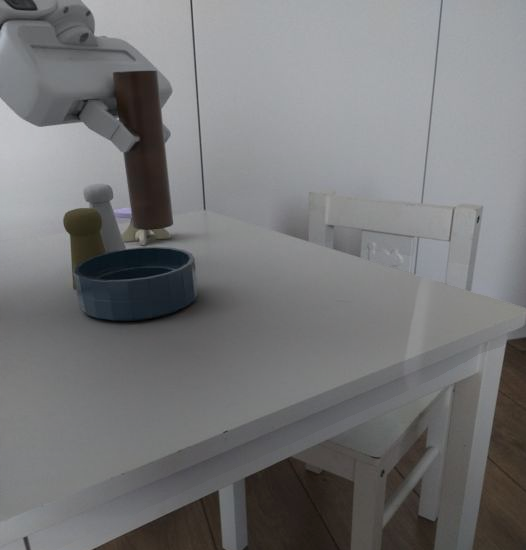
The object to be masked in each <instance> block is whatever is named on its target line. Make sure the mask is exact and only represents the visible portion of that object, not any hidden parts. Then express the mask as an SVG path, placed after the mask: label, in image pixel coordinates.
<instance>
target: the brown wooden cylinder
mask: <svg viewBox="0 0 526 550" xmlns="http://www.w3.org/2000/svg"><path fill="white" fill-rule="evenodd" d="M113 80H114V87H115V95H116V102H117V110H118V117H119V118H118V120H119V121H120V122H121V123H123V124H124V125H126V124H129V125H130V126H131V127H132V128H133V129H134V131H135V132H136V133H138V135H139V136H140V139H141V140H140V143H139V144H138V145H137V146H136V148H135V150H133V151H129V152H124V153H123V152H122V153H123V161H124V169H125V175H126V176H125V177H126V182H127V190H128V191H127V192H128V197H129V204H130V206H129V207H131V213H132V221H133V227H134V228H136V229H141V230H150V231H151V230H154V229H162V228H164V229H166V228H169V227H172V226H173V225H174V217H173V207H172V198H171V189H170V179H169V169H168V160H167V149H166V143H165V140H164V130H163V124H164V121H163V112H162V109H161V102H160V92H159V82H158V73H157V71H122V72H113Z"/></svg>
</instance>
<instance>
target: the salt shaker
mask: <svg viewBox="0 0 526 550" xmlns="http://www.w3.org/2000/svg"><path fill="white" fill-rule="evenodd" d="M82 190H83V198H84V200H85V201H86V203H89V204H88V205H89V207H88V208H91V209H95V210H97V211H98V212H99V213H100V215H101V218H102V228H101V230H100V234H101V237H102V241H103V244H104V247H105V250H106V252H111V251H116V250H122V249H127V247H126V245H125V242H123V239H122V236H121V235H122V234H121V230H120V228H119V225H118V221H117V217H115V215H114V212H113V211H114V209H113V206H112V203H111V201H112V200H113V199H114V191H113V187H111V186H110V185H109V184H107V183H95V184H90V185H87V186H85V187H84V189H82Z"/></svg>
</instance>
